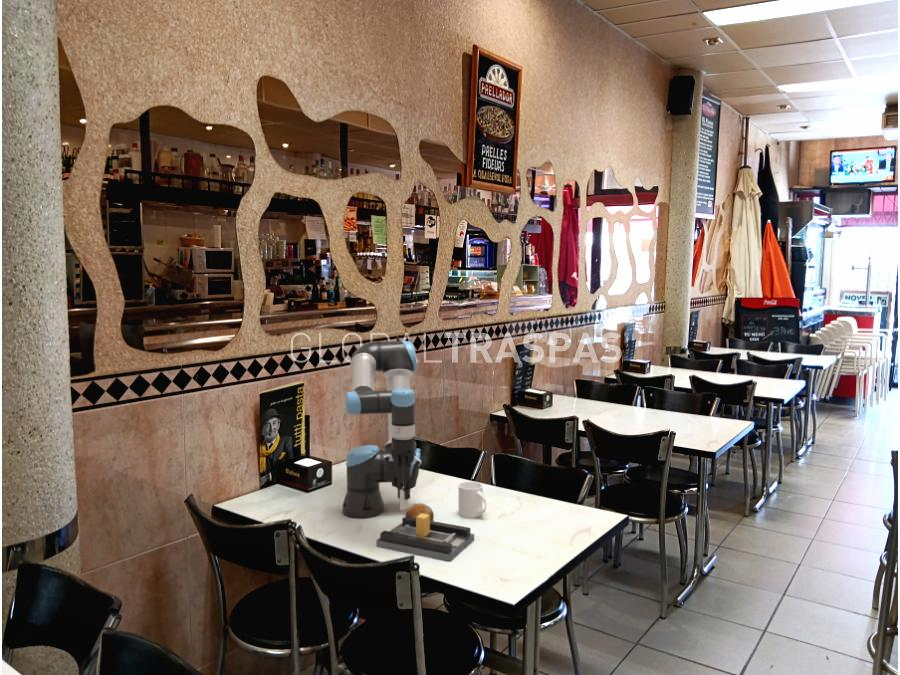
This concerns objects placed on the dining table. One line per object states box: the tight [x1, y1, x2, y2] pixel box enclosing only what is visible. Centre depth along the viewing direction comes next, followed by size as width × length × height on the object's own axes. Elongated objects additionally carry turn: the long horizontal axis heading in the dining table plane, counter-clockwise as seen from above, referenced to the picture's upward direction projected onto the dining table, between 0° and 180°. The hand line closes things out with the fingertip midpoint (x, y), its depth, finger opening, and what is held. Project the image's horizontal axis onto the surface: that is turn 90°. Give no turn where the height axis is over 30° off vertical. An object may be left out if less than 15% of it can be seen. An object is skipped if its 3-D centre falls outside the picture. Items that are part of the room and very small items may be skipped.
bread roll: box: [405, 502, 435, 521], centre depth 244 cm, size 10×10×8 cm
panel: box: [376, 515, 475, 562], centre depth 225 cm, size 26×18×4 cm
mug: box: [458, 481, 487, 519], centre depth 248 cm, size 9×12×11 cm
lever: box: [416, 513, 430, 538], centre depth 225 cm, size 3×4×7 cm
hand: (404, 508), depth 227 cm, fingers closed
